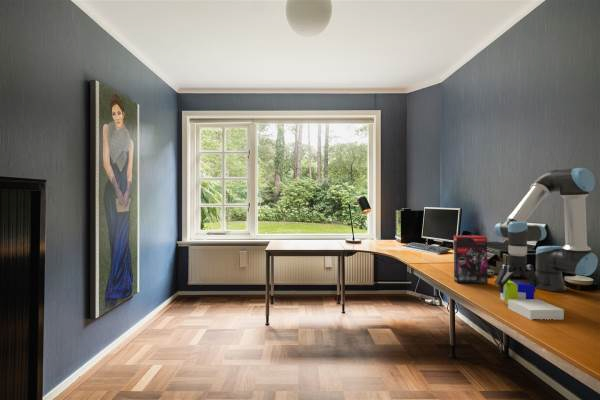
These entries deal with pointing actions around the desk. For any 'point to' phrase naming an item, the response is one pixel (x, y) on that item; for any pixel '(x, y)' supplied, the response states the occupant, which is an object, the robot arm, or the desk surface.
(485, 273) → the graphics card box
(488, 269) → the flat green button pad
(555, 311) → the plinth
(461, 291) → the desk surface
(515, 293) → the puzzle toy
